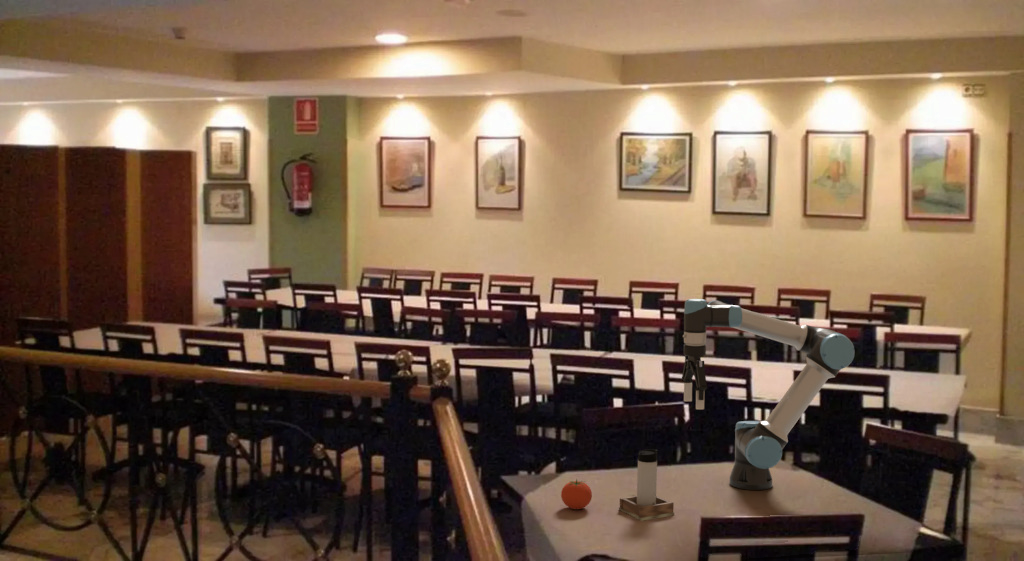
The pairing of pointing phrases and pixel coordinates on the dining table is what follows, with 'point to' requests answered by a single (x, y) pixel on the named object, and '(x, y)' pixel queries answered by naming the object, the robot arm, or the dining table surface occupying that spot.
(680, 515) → the dining table surface
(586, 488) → the tomato
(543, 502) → the dining table surface
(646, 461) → the travel mug
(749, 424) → the robot arm
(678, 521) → the dining table surface
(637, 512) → the walnut caddy
